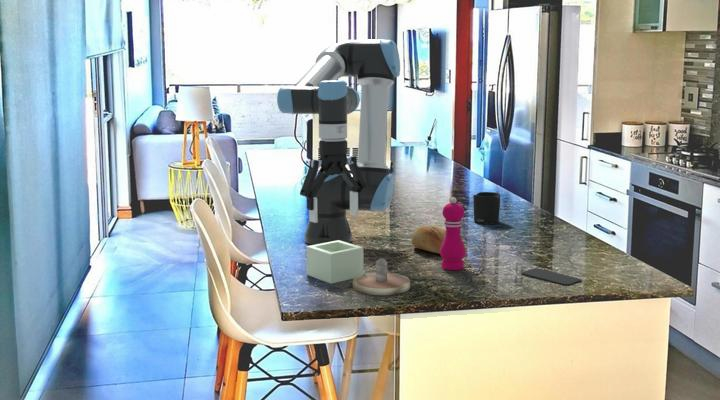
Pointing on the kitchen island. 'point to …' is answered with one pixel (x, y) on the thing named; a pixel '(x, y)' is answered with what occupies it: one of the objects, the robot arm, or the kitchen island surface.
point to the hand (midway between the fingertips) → (334, 218)
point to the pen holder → (486, 207)
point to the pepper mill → (453, 237)
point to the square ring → (335, 261)
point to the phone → (551, 276)
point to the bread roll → (429, 238)
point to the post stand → (381, 281)
